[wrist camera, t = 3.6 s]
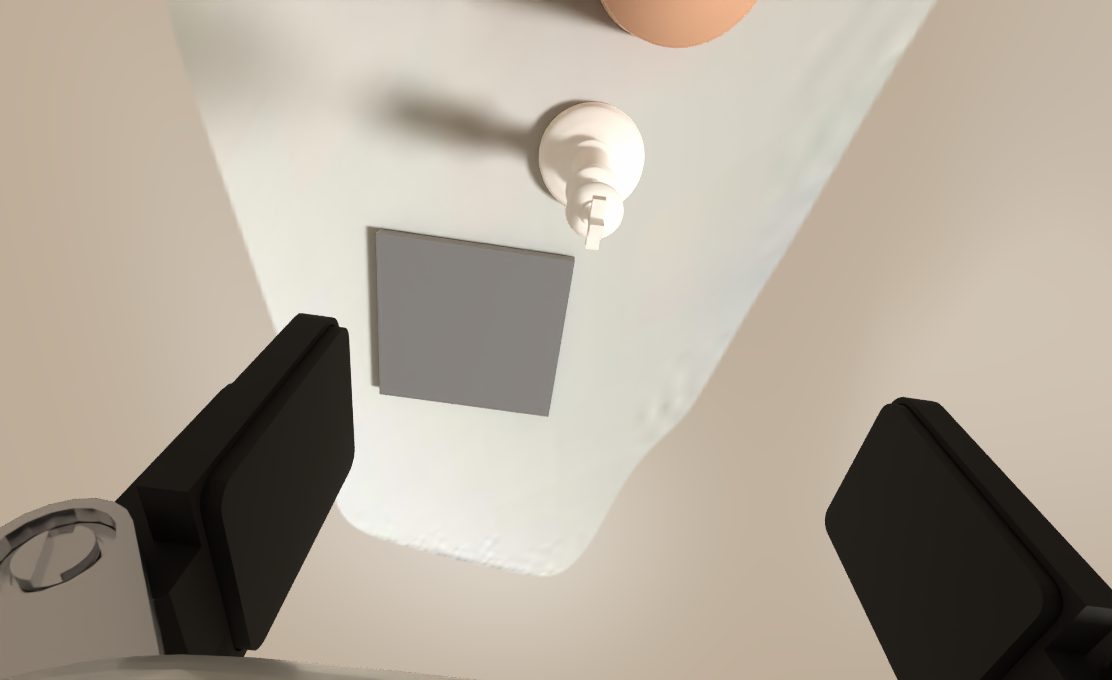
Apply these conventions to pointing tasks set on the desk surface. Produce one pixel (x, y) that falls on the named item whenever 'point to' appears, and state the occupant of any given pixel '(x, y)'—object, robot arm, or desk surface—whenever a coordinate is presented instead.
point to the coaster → (469, 321)
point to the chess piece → (592, 166)
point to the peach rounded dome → (677, 19)
